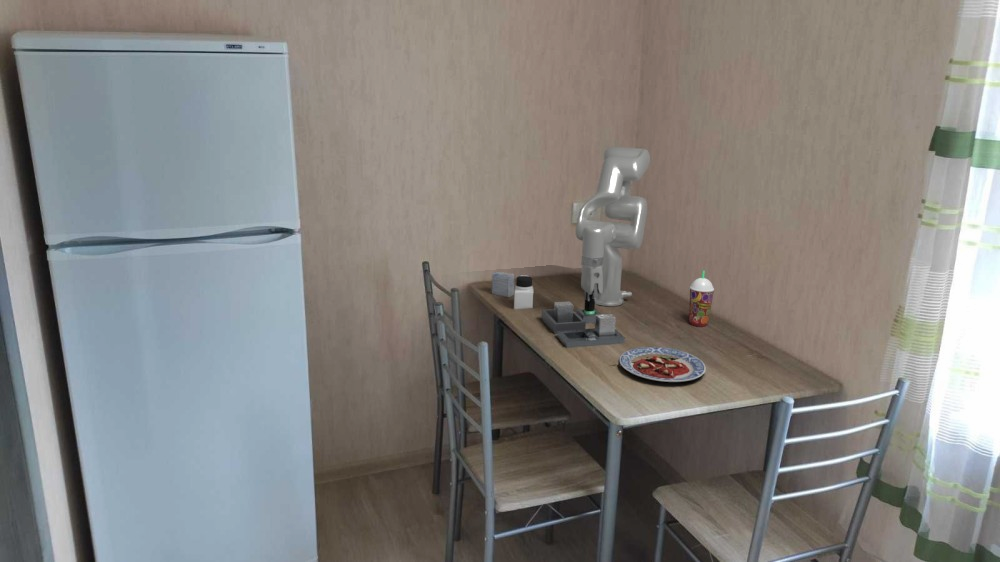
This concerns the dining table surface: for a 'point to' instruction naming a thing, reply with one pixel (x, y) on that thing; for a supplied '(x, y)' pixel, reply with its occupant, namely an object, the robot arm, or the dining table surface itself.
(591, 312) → the button
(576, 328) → the tote
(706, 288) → the smoothie
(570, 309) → the billet
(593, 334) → the pallet
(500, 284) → the medicine box
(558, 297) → the dining table surface
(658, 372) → the ceramic plate
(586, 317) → the button housing
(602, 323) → the billet
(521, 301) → the medicine bottle
